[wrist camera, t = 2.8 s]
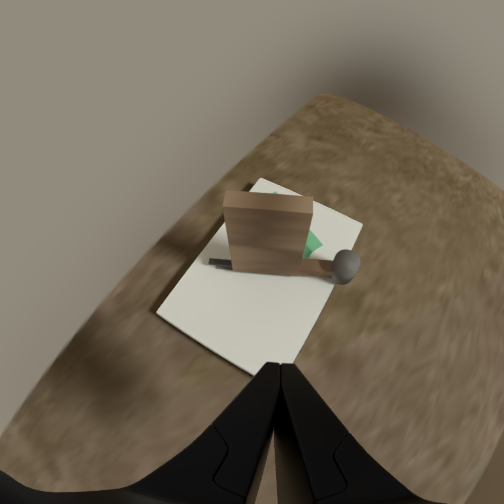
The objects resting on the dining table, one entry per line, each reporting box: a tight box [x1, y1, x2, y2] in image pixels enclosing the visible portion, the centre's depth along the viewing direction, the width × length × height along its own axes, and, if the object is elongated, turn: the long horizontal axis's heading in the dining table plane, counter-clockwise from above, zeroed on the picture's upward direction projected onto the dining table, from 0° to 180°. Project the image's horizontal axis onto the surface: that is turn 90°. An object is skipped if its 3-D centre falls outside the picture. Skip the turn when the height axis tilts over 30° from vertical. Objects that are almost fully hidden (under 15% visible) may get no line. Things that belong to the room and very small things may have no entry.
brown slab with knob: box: [208, 190, 360, 285], centre depth 20 cm, size 12×2×8 cm, turn 84°
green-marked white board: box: [156, 178, 363, 376], centre depth 25 cm, size 11×16×1 cm
